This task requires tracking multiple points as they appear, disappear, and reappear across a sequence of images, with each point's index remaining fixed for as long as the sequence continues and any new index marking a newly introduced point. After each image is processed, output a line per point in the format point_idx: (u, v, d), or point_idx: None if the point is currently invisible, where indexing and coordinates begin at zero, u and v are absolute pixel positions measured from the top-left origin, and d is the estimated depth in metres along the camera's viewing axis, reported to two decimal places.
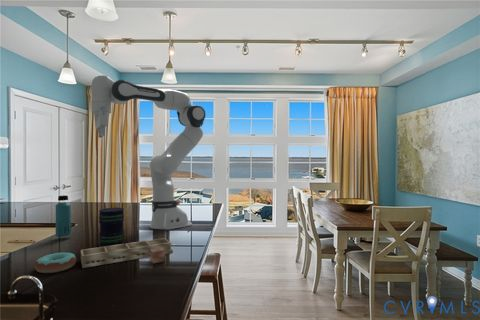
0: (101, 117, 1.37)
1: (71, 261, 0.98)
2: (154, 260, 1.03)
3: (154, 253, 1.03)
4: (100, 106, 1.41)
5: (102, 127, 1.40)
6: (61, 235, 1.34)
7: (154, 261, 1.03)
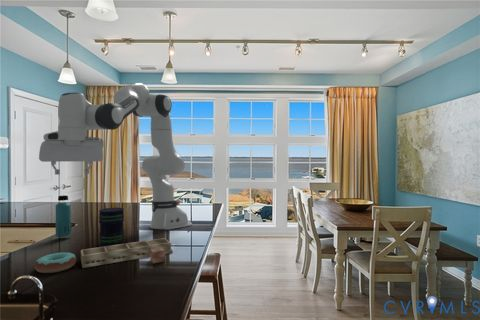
0: None
1: (71, 261, 0.98)
2: (154, 260, 1.03)
3: (154, 253, 1.03)
4: (85, 135, 1.09)
5: None
6: (61, 235, 1.34)
7: (154, 261, 1.03)
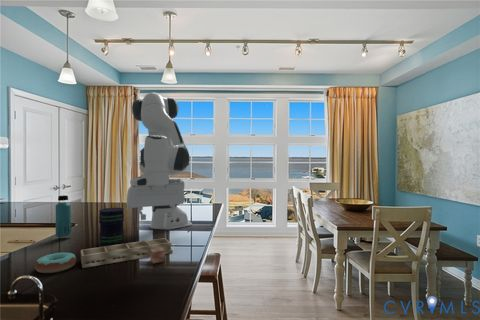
0: None
1: (71, 261, 0.98)
2: (154, 260, 1.03)
3: (154, 253, 1.03)
4: None
5: None
6: (61, 235, 1.34)
7: (154, 261, 1.03)
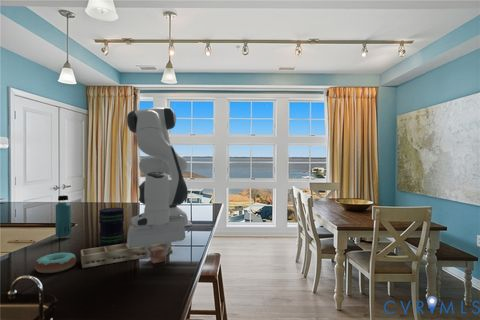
0: None
1: (71, 261, 0.98)
2: (154, 260, 1.03)
3: (154, 253, 1.03)
4: (169, 215, 1.07)
5: None
6: (61, 235, 1.34)
7: (154, 261, 1.03)
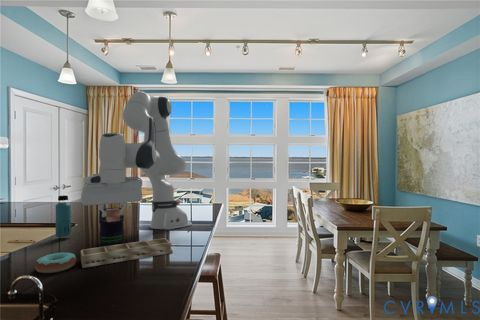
0: None
1: (71, 261, 0.98)
2: (109, 219, 1.03)
3: (109, 212, 1.03)
4: (125, 175, 1.07)
5: None
6: (61, 235, 1.34)
7: (109, 220, 1.03)
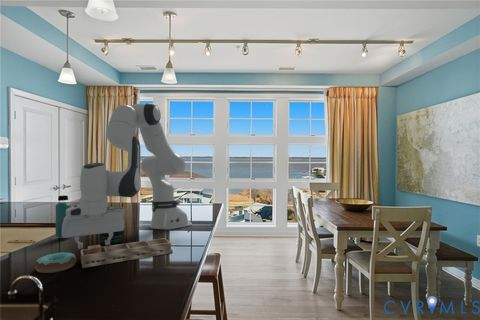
0: (123, 221, 1.10)
1: (71, 261, 0.98)
2: None
3: (90, 250, 1.03)
4: (107, 206, 1.07)
5: None
6: (61, 235, 1.34)
7: None
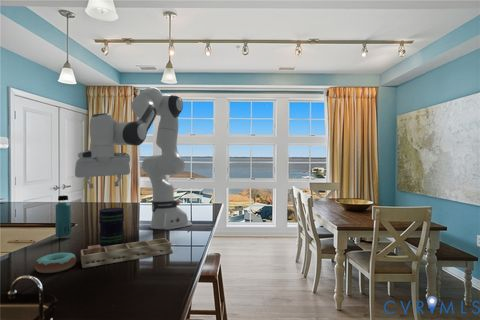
0: None
1: (71, 261, 0.98)
2: None
3: (90, 250, 1.03)
4: (114, 151, 1.20)
5: None
6: (61, 235, 1.34)
7: None
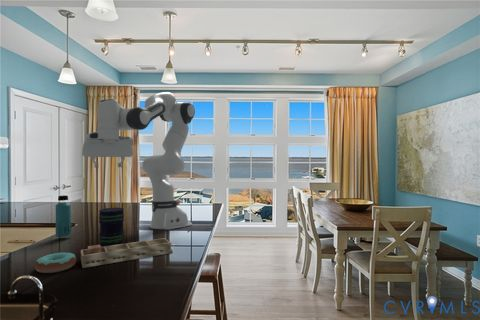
0: None
1: (71, 261, 0.98)
2: None
3: (90, 250, 1.03)
4: None
5: None
6: (61, 235, 1.34)
7: None
